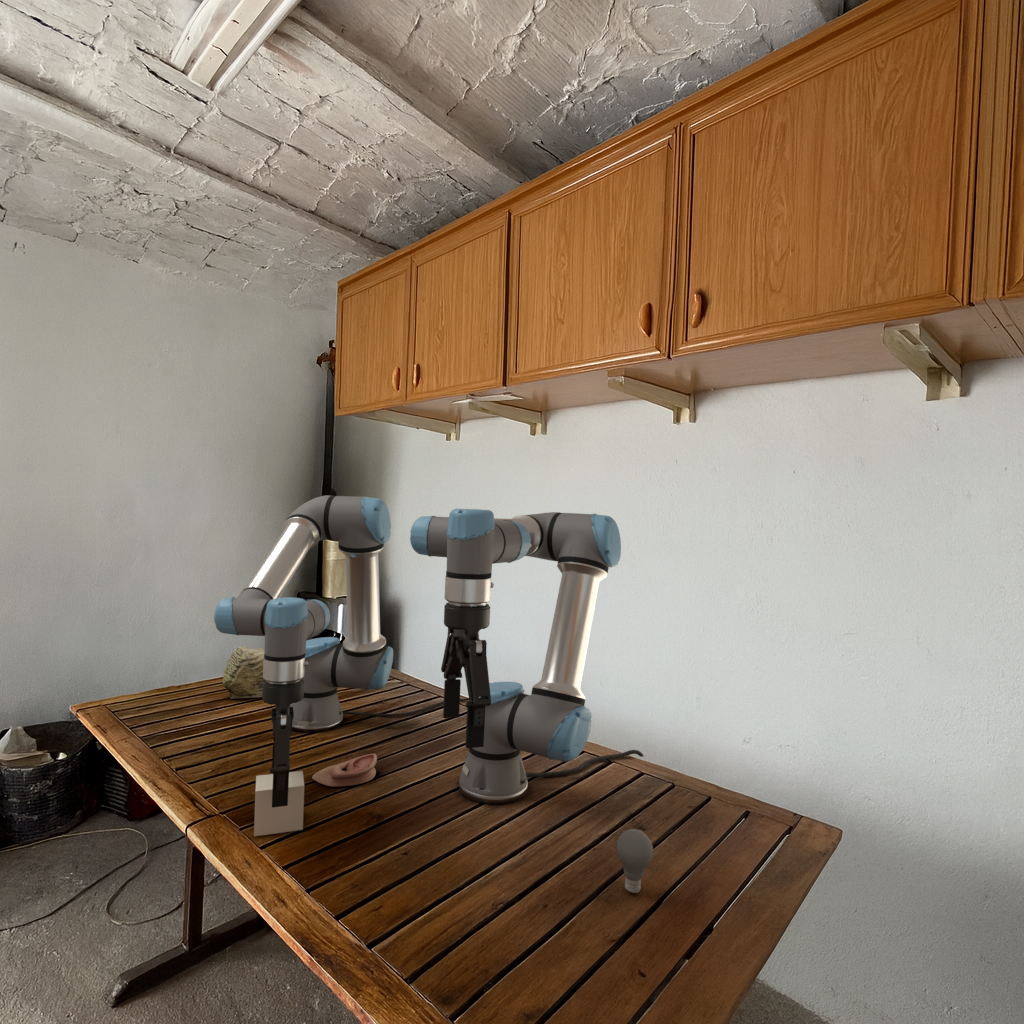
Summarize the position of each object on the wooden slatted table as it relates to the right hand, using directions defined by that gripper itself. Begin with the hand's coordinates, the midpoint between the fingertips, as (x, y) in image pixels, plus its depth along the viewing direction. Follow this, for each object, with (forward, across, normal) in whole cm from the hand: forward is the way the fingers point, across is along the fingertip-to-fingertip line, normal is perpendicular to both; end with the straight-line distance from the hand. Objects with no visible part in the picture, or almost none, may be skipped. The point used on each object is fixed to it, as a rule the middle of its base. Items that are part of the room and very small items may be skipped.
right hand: (462, 731), depth 104 cm
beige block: (+26, +29, +27) cm, 47 cm away
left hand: (+19, +29, +27) cm, 44 cm away
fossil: (+26, +113, +33) cm, 120 cm away
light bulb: (+26, -10, -28) cm, 39 cm away
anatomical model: (+26, +46, +13) cm, 55 cm away
